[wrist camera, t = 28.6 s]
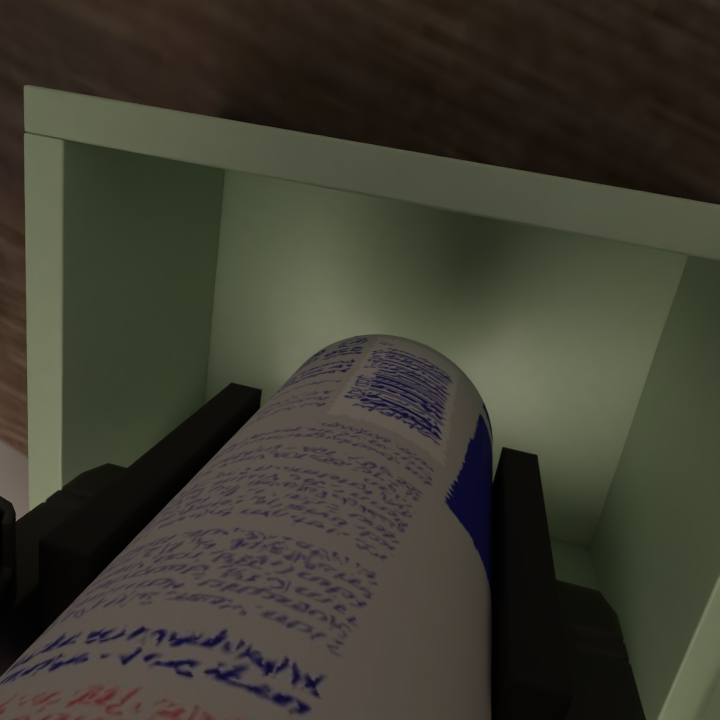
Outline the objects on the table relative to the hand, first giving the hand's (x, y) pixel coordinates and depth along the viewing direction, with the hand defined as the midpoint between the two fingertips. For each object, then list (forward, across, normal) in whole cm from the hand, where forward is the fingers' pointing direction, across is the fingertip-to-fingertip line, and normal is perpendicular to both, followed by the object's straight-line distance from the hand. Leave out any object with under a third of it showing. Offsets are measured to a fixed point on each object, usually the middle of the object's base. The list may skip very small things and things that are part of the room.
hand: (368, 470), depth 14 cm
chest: (+10, 0, 0) cm, 10 cm away
